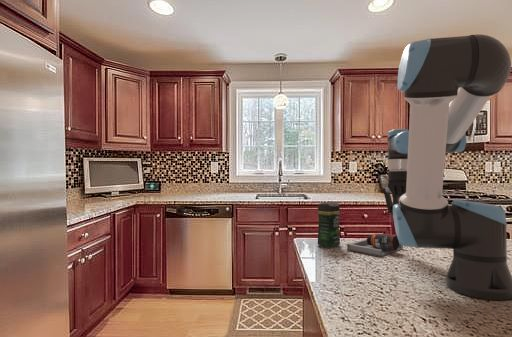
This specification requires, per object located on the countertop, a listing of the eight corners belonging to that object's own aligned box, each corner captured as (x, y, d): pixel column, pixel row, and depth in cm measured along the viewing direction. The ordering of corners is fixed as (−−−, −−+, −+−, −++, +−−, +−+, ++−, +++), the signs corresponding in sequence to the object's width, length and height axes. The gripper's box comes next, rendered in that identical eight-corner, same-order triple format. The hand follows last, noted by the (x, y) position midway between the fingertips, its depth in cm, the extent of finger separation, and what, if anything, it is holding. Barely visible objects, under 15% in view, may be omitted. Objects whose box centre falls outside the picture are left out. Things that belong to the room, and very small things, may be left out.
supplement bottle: (401, 241, 125) (374, 238, 133) (395, 232, 122) (368, 229, 131) (396, 254, 122) (369, 250, 131) (390, 245, 119) (363, 241, 128)
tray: (380, 257, 117) (380, 250, 117) (347, 250, 128) (347, 244, 128) (402, 248, 129) (402, 242, 129) (370, 243, 140) (370, 237, 140)
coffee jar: (331, 249, 129) (330, 203, 130) (314, 246, 135) (314, 202, 135) (343, 245, 136) (342, 201, 136) (327, 242, 142) (326, 200, 142)
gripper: (420, 170, 119) (421, 233, 119) (387, 170, 129) (388, 229, 129) (411, 170, 114) (412, 236, 114) (377, 170, 124) (378, 231, 124)
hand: (399, 232), depth 121 cm, fingers closed
